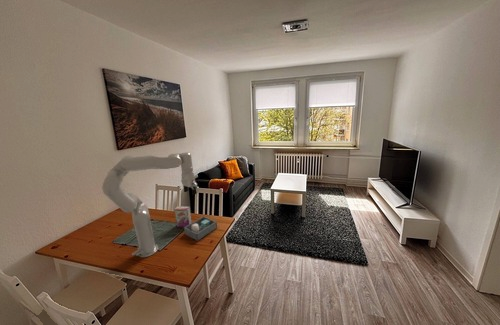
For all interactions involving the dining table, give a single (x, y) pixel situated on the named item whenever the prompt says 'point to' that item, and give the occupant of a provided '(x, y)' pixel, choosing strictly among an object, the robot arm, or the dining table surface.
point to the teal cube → (205, 224)
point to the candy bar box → (182, 216)
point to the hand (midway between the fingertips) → (190, 192)
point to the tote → (200, 229)
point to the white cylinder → (195, 228)
